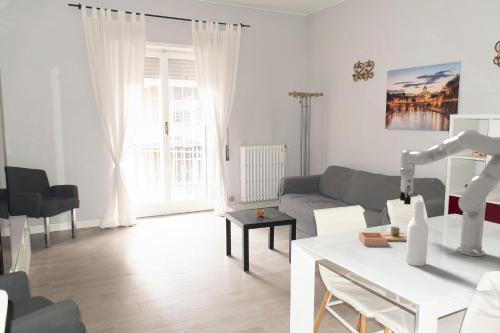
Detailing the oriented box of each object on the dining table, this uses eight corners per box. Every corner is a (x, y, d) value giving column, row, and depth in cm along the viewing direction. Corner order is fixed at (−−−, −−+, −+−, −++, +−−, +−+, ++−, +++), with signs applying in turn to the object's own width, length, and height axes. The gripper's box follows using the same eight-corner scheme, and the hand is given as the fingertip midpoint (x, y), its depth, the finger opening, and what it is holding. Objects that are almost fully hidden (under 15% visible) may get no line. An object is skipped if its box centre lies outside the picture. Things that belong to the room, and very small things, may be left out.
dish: (387, 247, 211) (387, 238, 210) (364, 246, 211) (364, 238, 211) (380, 240, 223) (380, 232, 222) (358, 240, 223) (359, 232, 223)
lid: (411, 241, 218) (412, 231, 218) (386, 241, 219) (386, 230, 218) (403, 234, 232) (403, 224, 232) (378, 234, 233) (379, 224, 232)
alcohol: (409, 258, 193) (412, 198, 190) (428, 263, 188) (432, 200, 184) (403, 263, 186) (406, 200, 183) (422, 268, 181) (426, 203, 177)
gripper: (418, 175, 213) (416, 206, 215) (410, 170, 230) (408, 199, 232) (404, 174, 214) (401, 205, 216) (396, 169, 231) (394, 198, 233)
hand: (405, 202), depth 224 cm, fingers open, 9 cm apart
